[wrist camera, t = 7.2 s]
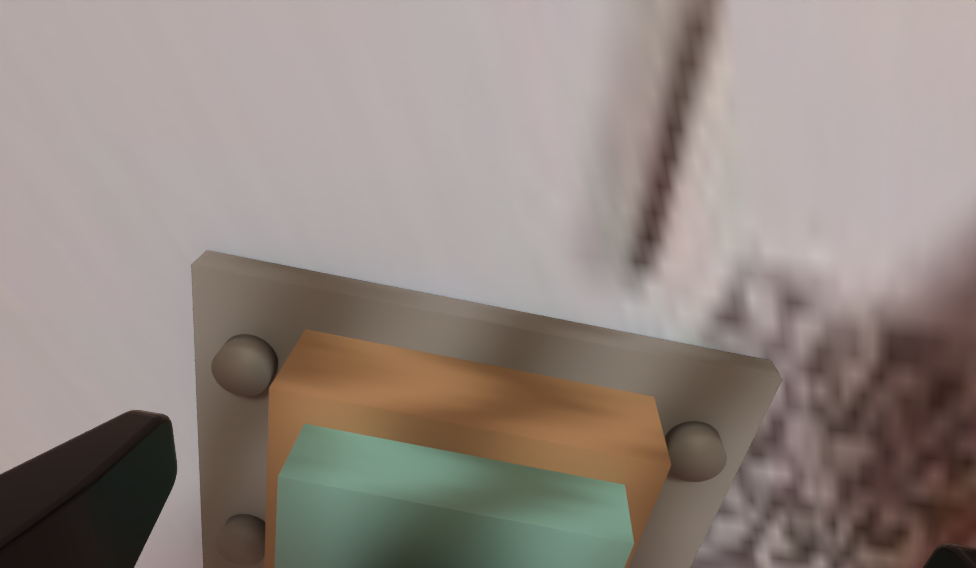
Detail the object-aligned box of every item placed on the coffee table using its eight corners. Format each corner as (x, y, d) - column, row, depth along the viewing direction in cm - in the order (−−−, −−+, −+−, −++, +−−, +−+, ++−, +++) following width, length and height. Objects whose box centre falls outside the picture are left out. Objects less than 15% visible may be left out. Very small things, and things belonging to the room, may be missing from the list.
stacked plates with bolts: (771, 360, 20) (853, 506, 15) (642, 633, 27) (667, 802, 21) (206, 250, 20) (85, 359, 15) (214, 554, 26) (133, 705, 21)
